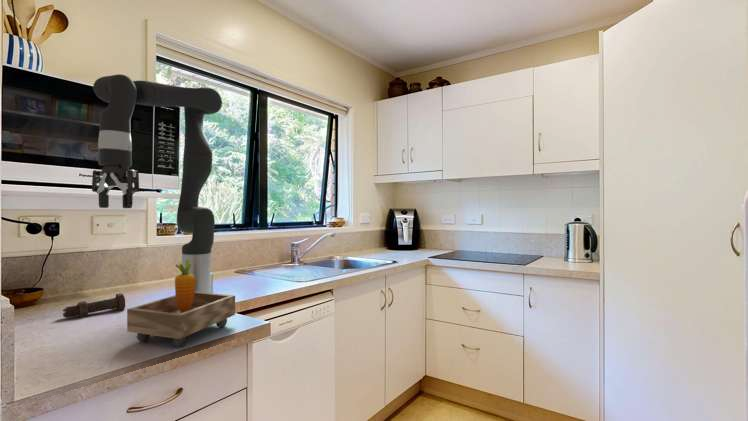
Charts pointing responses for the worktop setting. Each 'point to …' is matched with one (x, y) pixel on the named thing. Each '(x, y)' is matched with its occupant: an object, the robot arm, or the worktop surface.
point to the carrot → (184, 287)
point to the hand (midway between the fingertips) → (115, 207)
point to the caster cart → (179, 316)
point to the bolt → (95, 306)
